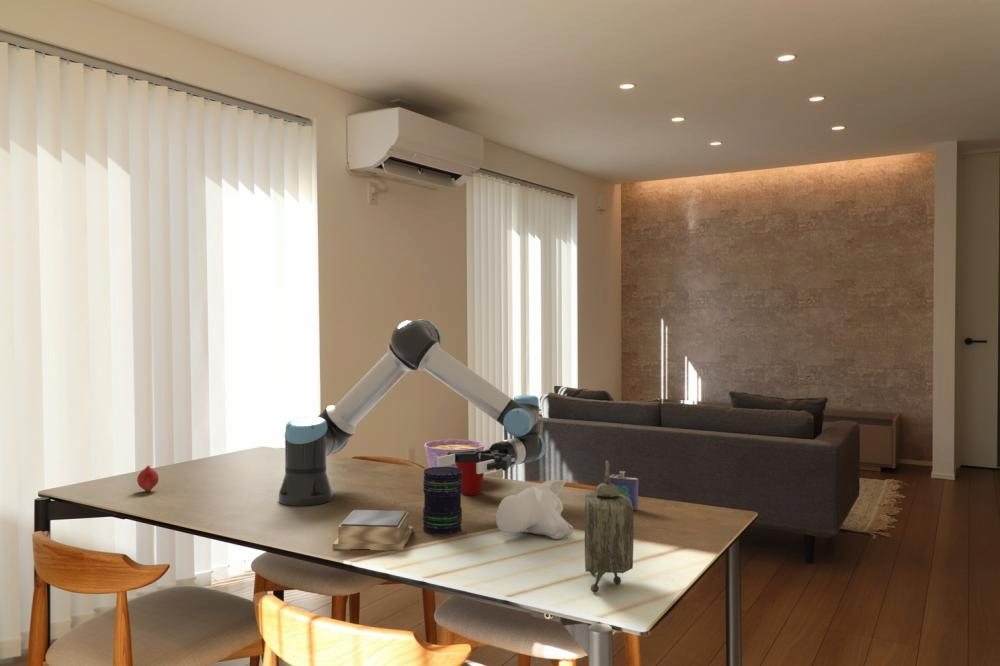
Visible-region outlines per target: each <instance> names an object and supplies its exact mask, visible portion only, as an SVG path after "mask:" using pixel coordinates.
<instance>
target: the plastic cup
mask: <svg viewBox="0 0 1000 666" xmlns="http://www.w3.org/2000/svg"><path fill="white" fill-rule="evenodd" d="M479 461H481V460H480V457H479ZM456 465H457V468H459V469H461V470H462V493H461V495H464V494H467V495H466V496H475V495H474V494H478V493H480V494H481V491H482V490H481V489H482V483H483V480H484V474H485V473H481V474H476V462H464V463H456ZM478 495H479V494H478Z"/></svg>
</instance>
